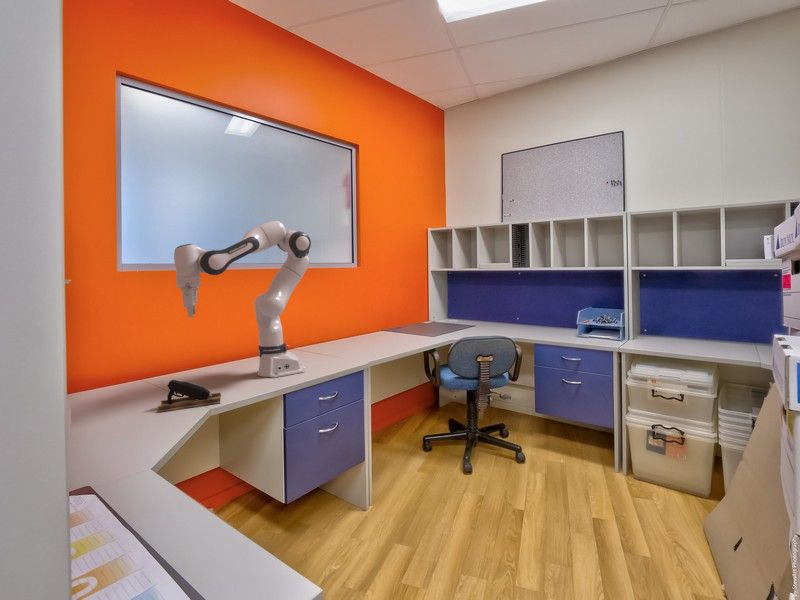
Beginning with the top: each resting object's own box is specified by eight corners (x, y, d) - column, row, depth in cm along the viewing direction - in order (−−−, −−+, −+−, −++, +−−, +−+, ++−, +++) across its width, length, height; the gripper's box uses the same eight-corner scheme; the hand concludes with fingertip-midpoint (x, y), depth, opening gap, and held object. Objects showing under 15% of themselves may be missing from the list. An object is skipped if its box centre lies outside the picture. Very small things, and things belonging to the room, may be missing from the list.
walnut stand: (220, 395, 161) (220, 391, 161) (220, 403, 152) (219, 399, 152) (162, 404, 153) (161, 399, 153) (157, 412, 144) (157, 408, 144)
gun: (203, 415, 154) (214, 391, 154) (159, 402, 148) (171, 377, 149) (204, 412, 156) (215, 389, 157) (161, 399, 151) (172, 375, 151)
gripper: (195, 283, 156) (198, 318, 158) (198, 281, 175) (201, 312, 176) (177, 284, 154) (180, 319, 155) (182, 282, 172) (186, 313, 174)
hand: (192, 315), depth 166 cm, fingers open, 8 cm apart
